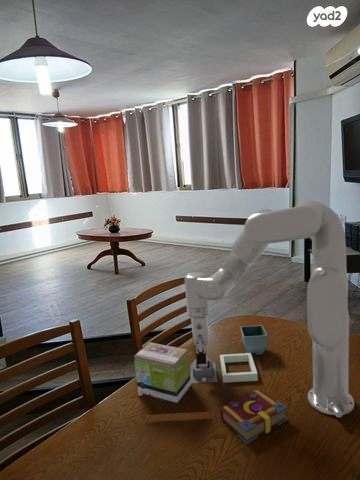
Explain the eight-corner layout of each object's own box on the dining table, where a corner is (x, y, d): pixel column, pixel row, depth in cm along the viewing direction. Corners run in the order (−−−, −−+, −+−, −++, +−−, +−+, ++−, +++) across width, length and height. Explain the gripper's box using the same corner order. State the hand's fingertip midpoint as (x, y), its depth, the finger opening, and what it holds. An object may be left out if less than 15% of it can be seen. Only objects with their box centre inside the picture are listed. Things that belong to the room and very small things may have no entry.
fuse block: (217, 385, 116) (217, 373, 115) (190, 387, 117) (189, 375, 116) (215, 366, 128) (214, 354, 127) (190, 367, 128) (189, 356, 128)
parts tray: (258, 384, 115) (257, 373, 114) (223, 386, 116) (223, 375, 115) (251, 362, 128) (250, 352, 127) (220, 364, 129) (219, 354, 128)
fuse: (208, 374, 120) (206, 351, 119) (198, 375, 120) (196, 352, 119) (208, 369, 124) (206, 346, 122) (198, 369, 124) (196, 347, 122)
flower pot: (268, 357, 131) (267, 335, 129) (244, 359, 131) (243, 336, 129) (263, 346, 139) (262, 324, 138) (241, 347, 140) (239, 326, 138)
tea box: (137, 396, 114) (132, 355, 112) (153, 379, 123) (149, 340, 120) (178, 407, 107) (173, 363, 104) (192, 388, 116) (188, 347, 113)
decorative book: (220, 421, 100) (219, 405, 99) (262, 399, 108) (261, 384, 107) (247, 446, 91) (246, 429, 90) (290, 419, 99) (290, 403, 98)
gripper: (210, 319, 109) (213, 369, 112) (208, 299, 126) (210, 343, 129) (186, 321, 109) (190, 370, 113) (187, 300, 126) (190, 344, 130)
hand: (201, 355), depth 121 cm, fingers open, 9 cm apart
